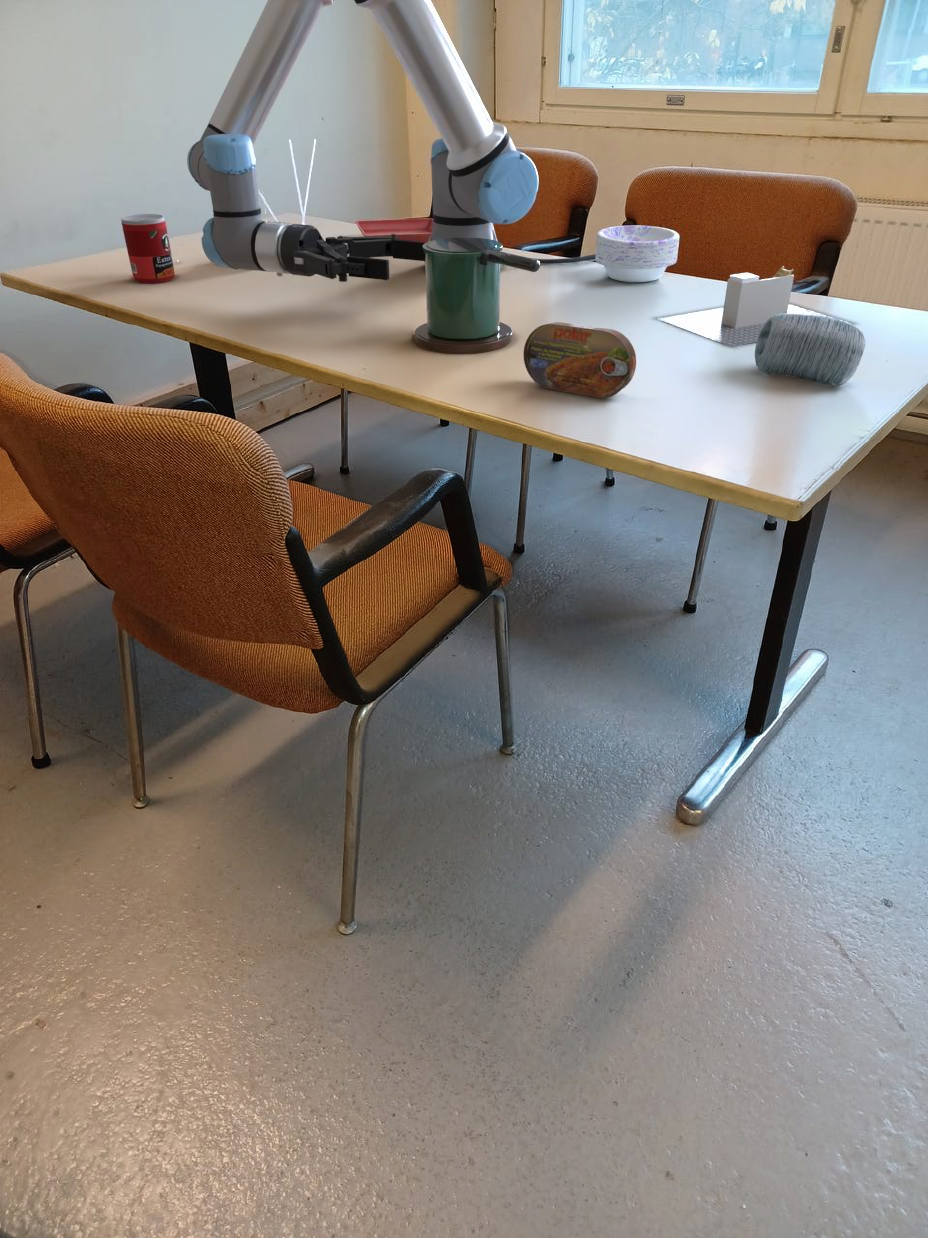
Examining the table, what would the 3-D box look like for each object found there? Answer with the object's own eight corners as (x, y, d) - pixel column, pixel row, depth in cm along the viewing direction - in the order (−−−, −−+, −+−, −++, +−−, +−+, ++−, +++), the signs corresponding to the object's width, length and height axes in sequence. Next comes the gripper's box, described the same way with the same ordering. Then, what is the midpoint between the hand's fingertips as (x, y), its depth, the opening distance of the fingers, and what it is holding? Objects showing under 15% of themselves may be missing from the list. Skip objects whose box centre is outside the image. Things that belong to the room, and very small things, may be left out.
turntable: (482, 320, 144) (482, 312, 143) (530, 343, 133) (531, 335, 132) (398, 333, 138) (398, 325, 137) (442, 359, 127) (441, 350, 126)
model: (721, 323, 141) (728, 272, 137) (771, 314, 145) (780, 265, 141) (735, 328, 139) (743, 276, 134) (785, 318, 143) (795, 268, 138)
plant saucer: (432, 231, 207) (432, 216, 205) (447, 247, 192) (447, 230, 190) (355, 236, 204) (354, 220, 202) (365, 251, 189) (364, 235, 187)
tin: (521, 384, 118) (523, 320, 113) (532, 377, 120) (534, 314, 115) (626, 404, 111) (632, 336, 107) (635, 396, 113) (642, 330, 109)
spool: (733, 353, 117) (777, 282, 114) (752, 368, 125) (794, 302, 122) (822, 401, 111) (871, 327, 108) (837, 413, 119) (883, 346, 116)
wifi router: (265, 242, 198) (251, 130, 186) (339, 254, 187) (329, 135, 175) (176, 263, 182) (154, 141, 169) (251, 277, 171) (234, 147, 158)
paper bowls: (639, 290, 159) (644, 243, 154) (577, 276, 168) (579, 232, 164) (691, 277, 167) (697, 232, 163) (629, 264, 177) (632, 221, 172)
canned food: (164, 284, 167) (152, 221, 161) (125, 282, 168) (112, 220, 162) (183, 275, 173) (172, 214, 167) (145, 273, 174) (133, 213, 168)
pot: (410, 328, 135) (406, 242, 128) (467, 314, 141) (467, 231, 135) (505, 360, 121) (506, 266, 115) (564, 344, 128) (569, 253, 121)
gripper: (335, 258, 152) (446, 269, 144) (247, 291, 133) (370, 305, 125) (331, 211, 147) (445, 219, 140) (240, 237, 129) (366, 249, 121)
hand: (410, 260), depth 133 cm, fingers open, 13 cm apart
